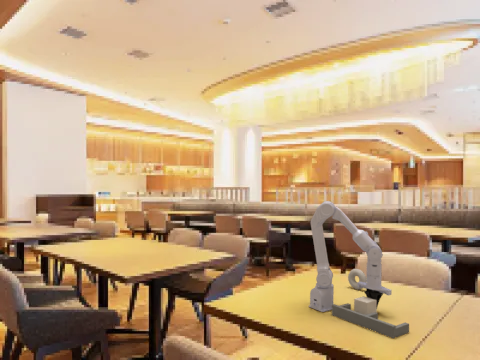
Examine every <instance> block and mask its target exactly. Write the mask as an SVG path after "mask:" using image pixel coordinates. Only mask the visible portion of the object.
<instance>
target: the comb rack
mask: <svg viewBox="0 0 480 360" xmlns="http://www.w3.org/2000/svg"><path fill="white" fill-rule="evenodd" d="M331 316H334V317H336V318H339V319H341V320H343V321H346V322H350V323H351V324H355V325H356V324H357V326H360V327H362V328H364V327H365V329H367V328H368V330H370V329H371V330H370V331H372V330H373V331H372V332H375V331H376V332H375V333H377V332H378V333H377V334H380V333H381V334H380V335H383V334H384V335H383V336H385V335H386V337H388V336H389V337H388V338H390V337H391V339H395V337H396V338H399V337H400V336H401V337H402V336H403V335H405V334H409V333H410V323H408V322H403V323H399V324H397V325H395V324H392V323H389V322H386V321H384V320H381V319H379V313H378V312H377V313H376V312H373V313H370V314H367V315H364V314H361V313H358V312H355V311H354V309H353V310H352V304H351V303H348V302H347V303H343V304H339V305H338V304H335V303H333V305H332V310H331Z"/></svg>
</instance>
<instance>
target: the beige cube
mask: <svg viewBox="0 0 480 360" xmlns="http://www.w3.org/2000/svg"><path fill="white" fill-rule="evenodd" d="M353 300H354V302H353V303H354V304H353V311H355V312H358V313H361V314H364V315H367V314H370V313H373V312H376V313H378V311H377V309H378V307H377V300H375V299H371V298H368V297H367V296H360V297H356V298H354V299H353Z"/></svg>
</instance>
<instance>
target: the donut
mask: <svg viewBox="0 0 480 360" xmlns="http://www.w3.org/2000/svg"><path fill="white" fill-rule="evenodd" d="M356 277H358V280H359V281H358V282H365V283H366V278H367V275H366V274H365V273H364V272H363V270H361V269H360V268H353V269H351V270H350V271H349V273H348V275H347V280H348V283H349V285H350V286H351V288H352V289H355V290H358V291H360V290H363V289H364V288H362V287H357V280H356Z"/></svg>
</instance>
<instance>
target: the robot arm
mask: <svg viewBox="0 0 480 360" xmlns="http://www.w3.org/2000/svg"><path fill="white" fill-rule="evenodd" d="M330 217H332V219H333V220H335V221H336V220H337V221H339V222H340V223H341V224H342V225H343V226H344V227H345V229H347V231H349V233H350V234H351V235H352V240H353V241H354V242H355V244H357V246H358V247H359V248H360V249H361V250H362V251H363V252H365V254H366V256H367V259H366V283H365V282H359V281H358V282H357V281H356V282H357V287H362V288H363V289H366V290H364V294H365V295H366V296H365V297H368V298H371V299H375V300H377V308H378V305H379V302H380V301H381V299H382V296H383V295H386V296H391V295H392V289H390V288H387V287H385V286H383V285H382V273H383V272H382V266H383V265H382V258H383V255H384V254H383V251H382V249H381V247H380V246H379V245H378V244H377V243H378V242H376V240H375V241H374V240H373V238H371V237H370V235H369V232H368V231H367V230H366V231H365V230H363V229H359V228H357V226H356V225H355V224H354V223H353V222H352V221H351V219H350V218H349V217H348V216H347V215H346V214H345V213H344V211H343V210H342V209H341V208H339V207H338V206H336V205H335V203H333V202H332V201H330V200H326V201H323V202H322V203H321V204H320V205H318V206H317V207H316V209H315V212H314V214H313V216H312V217H311V219H310V227H311V233H312V234H311V235H312V239H313V245H314V246H313V247H314V248H313V249H314V252H315V253H314V254H315V260H316V261H315V262H316V272H317V275H316V280H315V281H316V283H315V286H314V287H313V288H311V290H310V293H309V305H308V308H311V309H314V310H316V311H319V312H321V313H324V312H328V311H332V305H334V293H335V291H334V288H335V287H334V286H335V285H334V284H333V277H334V274H333V273H334V272H333V271H332V269H331V268H330V263H329V258H328V252H327V246H326V240H325V234H324V227H323V224H324V223H325V222H326V221H327V219H329V218H330Z"/></svg>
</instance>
